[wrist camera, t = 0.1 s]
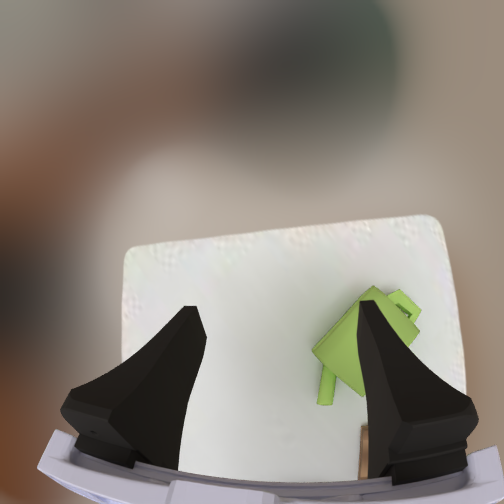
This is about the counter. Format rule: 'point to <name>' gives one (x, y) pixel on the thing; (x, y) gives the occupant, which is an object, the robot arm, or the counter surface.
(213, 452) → the counter surface
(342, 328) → the gearbox
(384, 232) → the counter surface
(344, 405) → the counter surface
